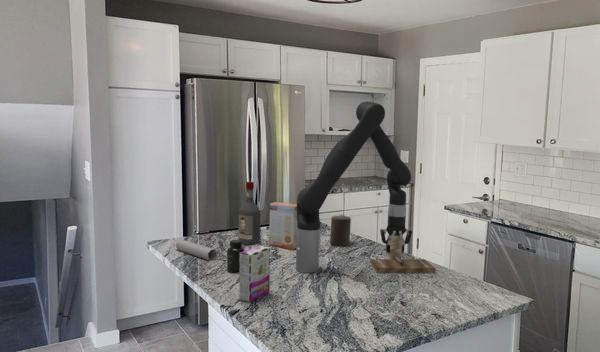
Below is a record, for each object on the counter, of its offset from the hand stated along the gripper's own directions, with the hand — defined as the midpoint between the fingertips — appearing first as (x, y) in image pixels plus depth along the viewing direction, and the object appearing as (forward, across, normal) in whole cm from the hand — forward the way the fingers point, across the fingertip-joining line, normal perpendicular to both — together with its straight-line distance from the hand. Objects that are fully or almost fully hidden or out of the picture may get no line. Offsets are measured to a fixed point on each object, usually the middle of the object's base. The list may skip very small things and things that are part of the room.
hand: (394, 252), depth 201 cm
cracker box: (+5, -47, +25) cm, 53 cm away
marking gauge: (+4, 0, -5) cm, 6 cm away
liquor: (+5, -64, +32) cm, 72 cm away
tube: (+5, -87, +11) cm, 88 cm away
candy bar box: (+5, -60, -39) cm, 72 cm away
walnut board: (+4, +1, -8) cm, 9 cm away
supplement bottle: (+5, -68, -11) cm, 69 cm away
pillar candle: (+5, -19, +30) cm, 36 cm away
